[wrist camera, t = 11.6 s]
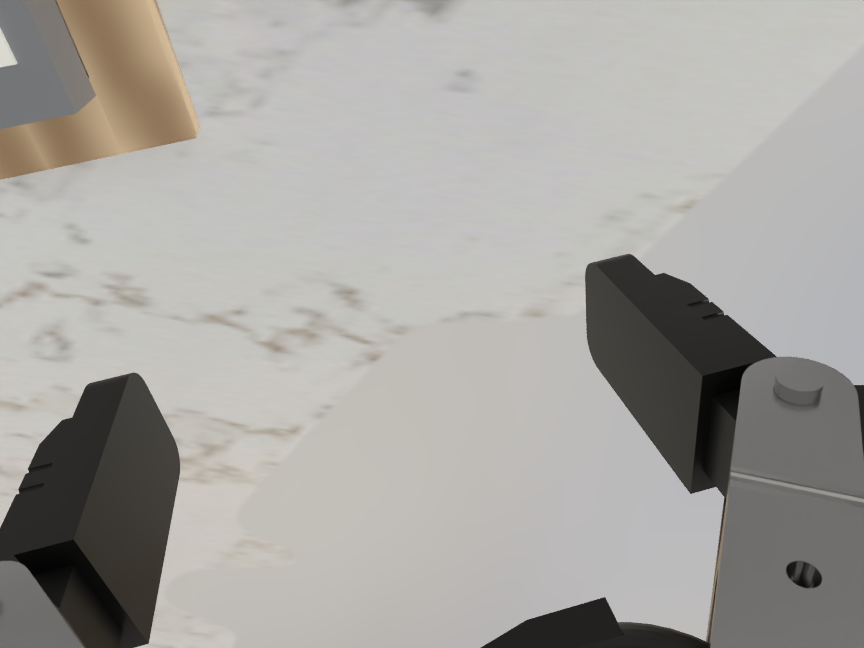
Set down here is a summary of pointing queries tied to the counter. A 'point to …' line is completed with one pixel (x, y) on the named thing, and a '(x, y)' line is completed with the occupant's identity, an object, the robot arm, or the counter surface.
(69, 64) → the strip
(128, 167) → the counter surface
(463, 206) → the counter surface
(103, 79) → the socket board
